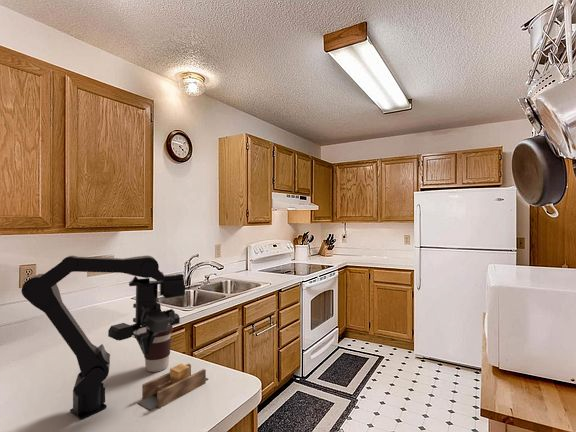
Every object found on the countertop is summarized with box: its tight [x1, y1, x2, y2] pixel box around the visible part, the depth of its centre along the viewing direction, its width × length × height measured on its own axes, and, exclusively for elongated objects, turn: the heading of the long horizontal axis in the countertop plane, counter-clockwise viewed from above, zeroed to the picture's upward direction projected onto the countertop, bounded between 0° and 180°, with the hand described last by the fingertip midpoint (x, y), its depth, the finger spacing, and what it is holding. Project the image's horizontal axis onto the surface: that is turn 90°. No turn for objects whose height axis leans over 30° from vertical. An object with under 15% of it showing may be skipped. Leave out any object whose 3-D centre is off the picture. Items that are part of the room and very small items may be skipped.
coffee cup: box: [143, 324, 174, 373], centre depth 110 cm, size 10×10×15 cm
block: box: [169, 363, 190, 384], centre depth 96 cm, size 4×4×4 cm
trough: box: [137, 363, 209, 411], centre depth 95 cm, size 20×8×4 cm, turn 146°
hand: (145, 354), depth 92 cm, fingers closed
